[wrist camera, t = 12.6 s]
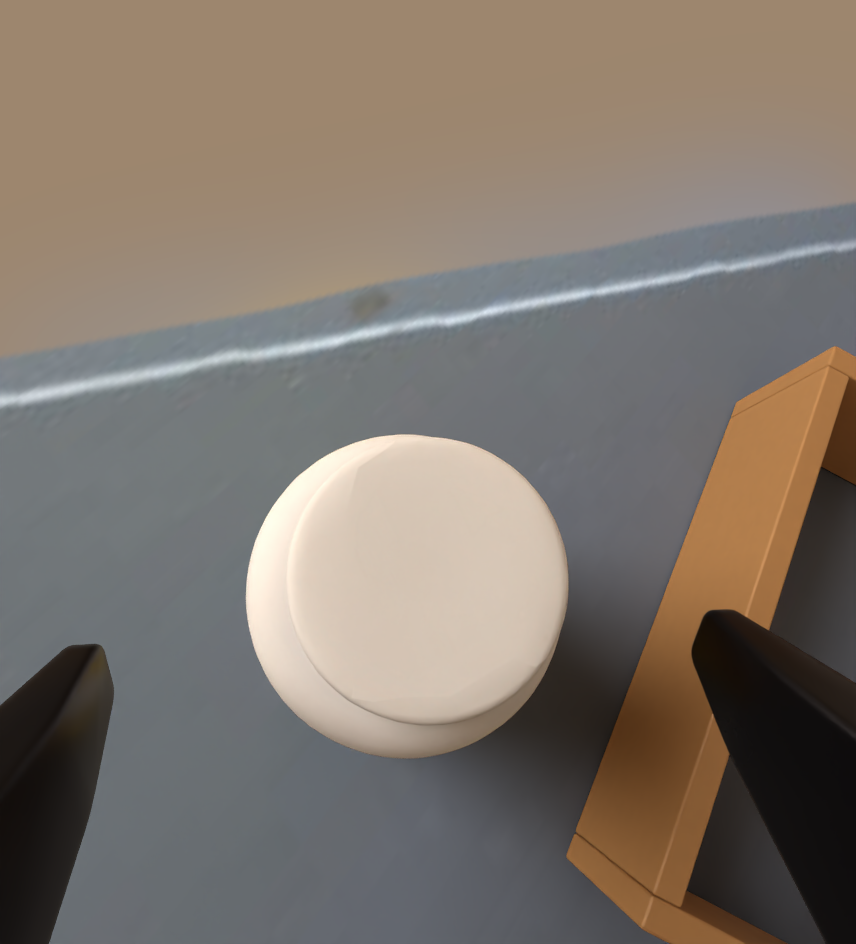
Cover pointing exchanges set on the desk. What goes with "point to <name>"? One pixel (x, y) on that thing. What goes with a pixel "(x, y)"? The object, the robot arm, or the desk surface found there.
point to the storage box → (670, 643)
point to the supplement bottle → (407, 594)
